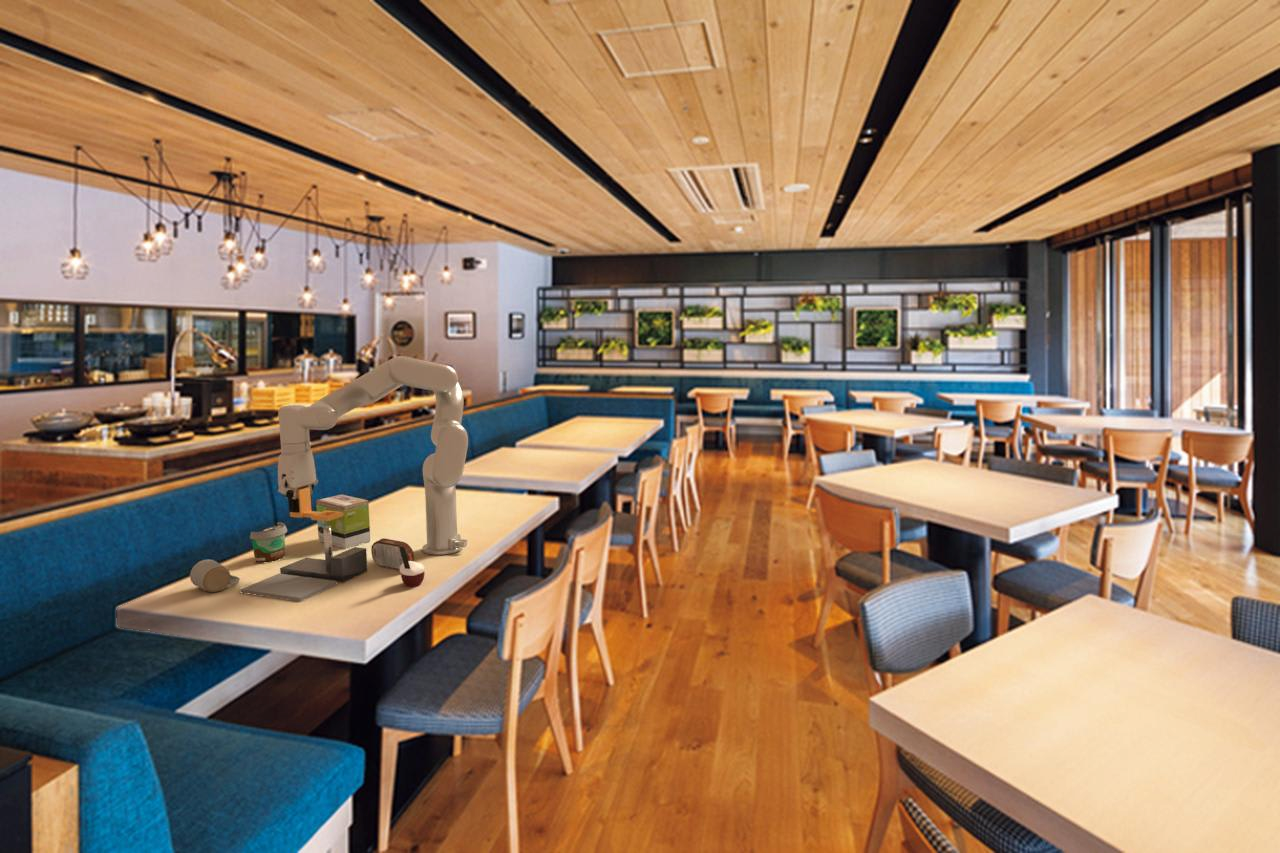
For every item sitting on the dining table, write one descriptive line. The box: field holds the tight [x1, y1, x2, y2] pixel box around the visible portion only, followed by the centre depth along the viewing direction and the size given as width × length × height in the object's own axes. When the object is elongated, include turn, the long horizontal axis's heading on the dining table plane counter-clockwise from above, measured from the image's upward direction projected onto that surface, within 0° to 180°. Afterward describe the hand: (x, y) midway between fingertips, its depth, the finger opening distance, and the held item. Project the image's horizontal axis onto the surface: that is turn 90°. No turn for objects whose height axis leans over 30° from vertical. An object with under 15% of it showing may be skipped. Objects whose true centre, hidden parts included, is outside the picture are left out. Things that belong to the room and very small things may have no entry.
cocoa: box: [399, 547, 426, 587], centre depth 189 cm, size 10×6×12 cm, turn 146°
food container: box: [249, 521, 288, 564], centre depth 210 cm, size 12×6×10 cm, turn 168°
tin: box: [370, 538, 415, 571], centre depth 202 cm, size 15×3×8 cm, turn 65°
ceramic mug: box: [189, 558, 241, 593], centre depth 186 cm, size 11×8×8 cm
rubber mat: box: [239, 573, 337, 602], centre depth 186 cm, size 20×13×1 cm, turn 73°
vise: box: [279, 526, 368, 584], centre depth 197 cm, size 22×10×14 cm, turn 73°
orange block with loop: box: [289, 487, 344, 521], centre depth 196 cm, size 14×6×8 cm, turn 73°
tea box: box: [315, 494, 371, 550], centre depth 228 cm, size 15×10×15 cm, turn 58°
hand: (300, 509), depth 198 cm, fingers closed on orange block with loop, 4 cm apart
